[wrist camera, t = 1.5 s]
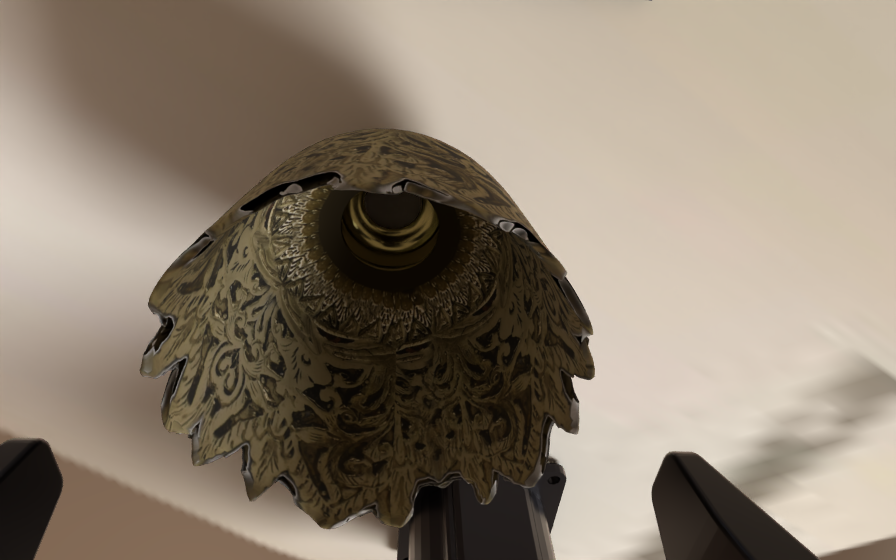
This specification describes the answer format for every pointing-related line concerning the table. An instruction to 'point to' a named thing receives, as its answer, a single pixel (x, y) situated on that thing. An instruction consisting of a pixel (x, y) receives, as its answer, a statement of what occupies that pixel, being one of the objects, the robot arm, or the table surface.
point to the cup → (371, 333)
